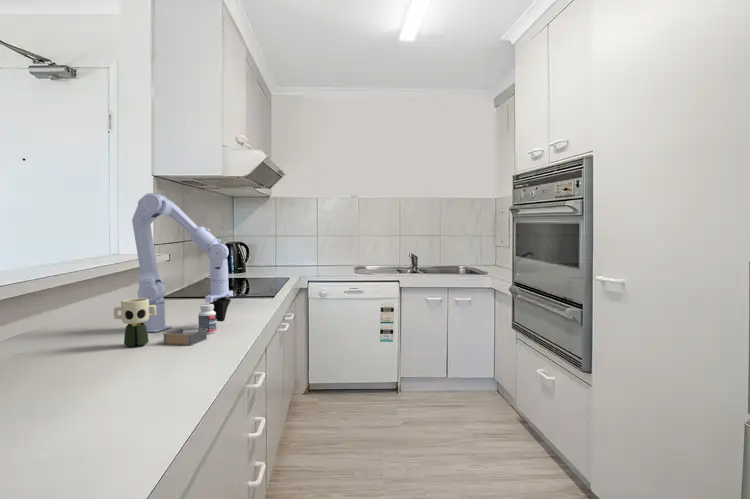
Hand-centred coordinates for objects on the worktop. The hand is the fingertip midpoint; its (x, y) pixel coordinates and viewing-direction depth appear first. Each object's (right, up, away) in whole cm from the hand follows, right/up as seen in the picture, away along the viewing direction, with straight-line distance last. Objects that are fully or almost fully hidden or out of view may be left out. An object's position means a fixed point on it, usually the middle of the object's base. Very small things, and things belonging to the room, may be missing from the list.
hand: (220, 321), depth 165 cm
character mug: (-17, -4, -24) cm, 29 cm away
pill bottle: (-2, -3, -8) cm, 8 cm away
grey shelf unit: (-4, -3, -19) cm, 20 cm away
